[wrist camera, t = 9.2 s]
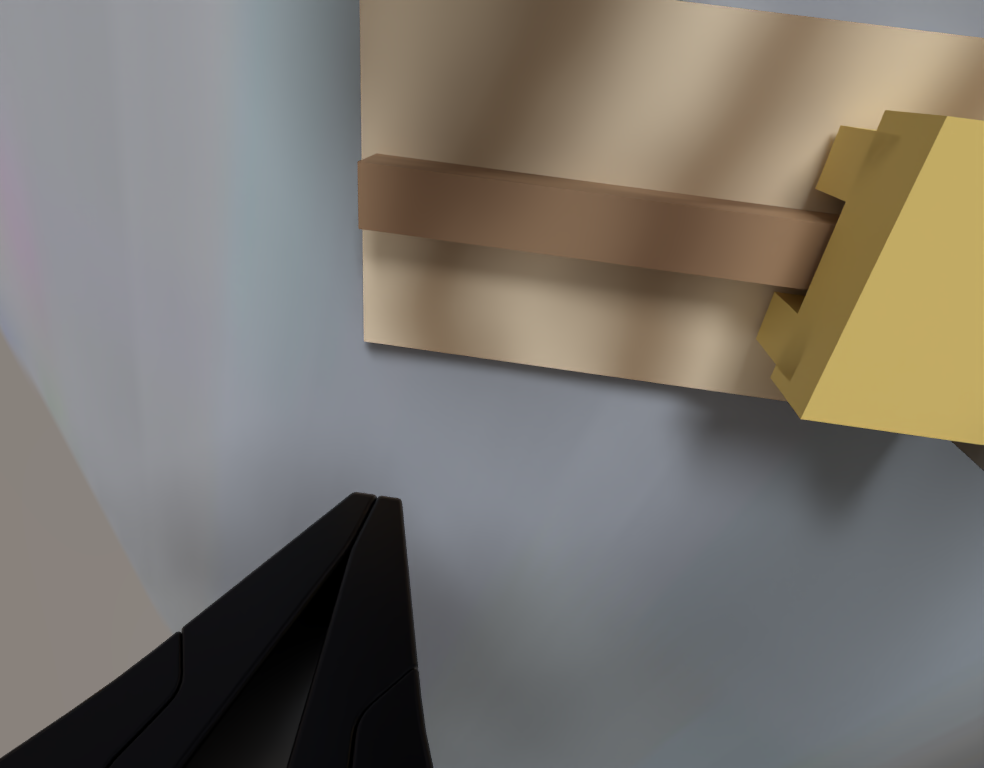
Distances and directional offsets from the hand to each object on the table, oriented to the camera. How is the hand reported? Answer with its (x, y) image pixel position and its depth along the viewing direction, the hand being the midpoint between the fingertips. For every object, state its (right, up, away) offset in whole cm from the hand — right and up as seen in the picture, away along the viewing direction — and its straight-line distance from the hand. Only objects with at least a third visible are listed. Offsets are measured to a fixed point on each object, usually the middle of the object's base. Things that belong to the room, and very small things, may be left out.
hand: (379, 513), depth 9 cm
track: (+9, +8, +9) cm, 15 cm away
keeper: (+15, +6, +8) cm, 18 cm away
